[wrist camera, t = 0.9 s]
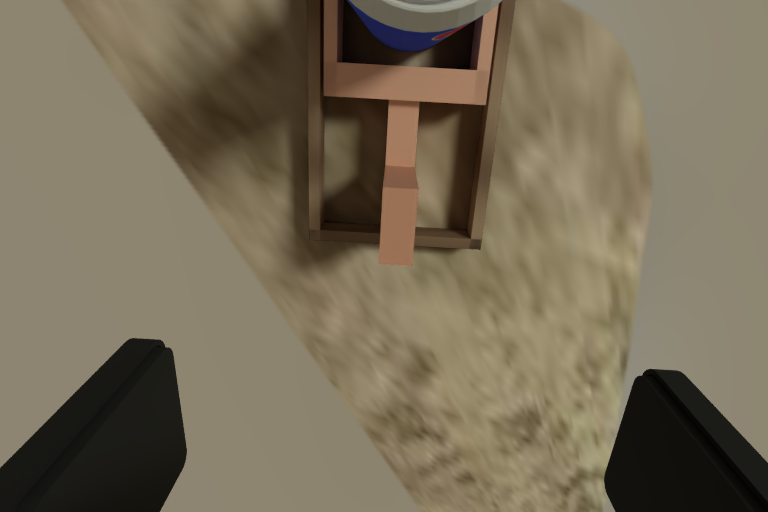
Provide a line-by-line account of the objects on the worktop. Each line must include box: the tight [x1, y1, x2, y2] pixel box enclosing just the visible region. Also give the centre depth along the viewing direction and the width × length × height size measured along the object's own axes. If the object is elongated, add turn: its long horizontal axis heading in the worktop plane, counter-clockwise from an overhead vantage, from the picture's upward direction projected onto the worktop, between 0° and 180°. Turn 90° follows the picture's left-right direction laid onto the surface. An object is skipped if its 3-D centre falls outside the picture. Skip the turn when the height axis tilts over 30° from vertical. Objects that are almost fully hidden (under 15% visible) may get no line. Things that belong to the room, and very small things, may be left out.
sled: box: [324, 0, 499, 266], centre depth 21 cm, size 16×8×6 cm, turn 177°
